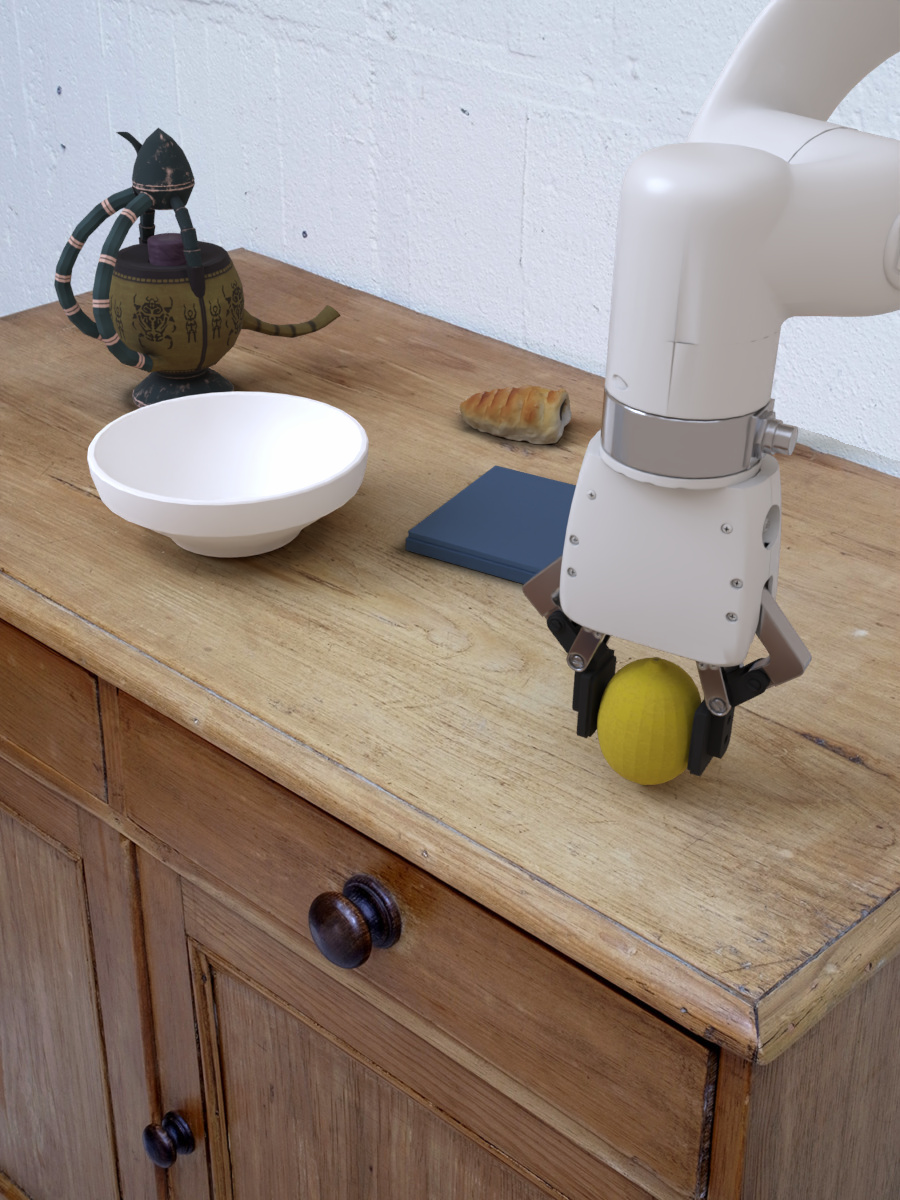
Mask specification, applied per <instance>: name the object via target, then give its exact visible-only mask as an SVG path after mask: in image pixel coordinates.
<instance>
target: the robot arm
mask: <svg viewBox="0 0 900 1200" xmlns="http://www.w3.org/2000/svg"><path fill="white" fill-rule="evenodd" d="M899 52H900V0H770V1H768V3H766V5H765V6H764V7H763V8H762V9H761V11H759V13H758V15H757V16H756V17H755V18H754V20H753V21H752V22H751V23H750V25H749V26H748V27H747V29H746V30H745V31H744V34H743V35H742V36H741V38H740V39H739V41H738V43H736V45H735V48H734V49H733V51H732V53H731V54H730V56H729V57H728V59H727V61H726V63H725V64H724V66H723V68H722V70H721V72H720V74H719V75H718V77H717V78H716V80H715V82H714V84H713V86H711V87H712V88H711V89H710V91H709V93H708V94H707V96H706V98H705V100H704V102H703V103H702V105H701V107H700V109H699V111H698V113H697V115H696V117H695V119H694V121H693V123H692V125H691V127H690V130H689V132H688V135H687V136H686V138H685V141H684V142H678V143H669V144H664V145H660V146H656V147H652V148H650V149H646V150H645V151H642V152H641V153H640V154H638V155H637V156H636V157H635V158H633V160H632V161H631V162H630V163H629V165H628V166H627V167H626V170H625V172H624V174H623V177H622V181H621V183H620V184H621V185H620V191H619V200H618V208H617V219H616V220H617V222H616V232H615V233H616V234H615V246H614V259H613V270H612V271H613V274H612V283H611V284H612V285H611V298H610V311H609V323H608V336H607V337H608V338H607V350H606V363H605V364H606V365H605V376H604V377H605V378H604V386H603V387H604V388H603V397H602V398H603V400H602V411H601V412H602V413H601V426H600V429H599V430H598V431H597V432H596V433H595V434H594V436H592V437H591V438H590V440H589V442H588V444H587V447H586V450H585V453H584V456H583V459H582V463H581V465H580V469H579V473H578V476H577V481H576V484H575V485H576V488H575V492H574V496H573V500H572V504H571V509H570V514H569V519H568V524H567V530H566V536H565V543H564V549H563V554H561V555H560V556H559V557H557V558H556V559H555V560H553V561H552V562H551V563H549V564H548V565H547V566H545V567H544V568H543V569H541V570H540V571H539V572H537V573H536V574H535V575H534V576H533V577H532V578H530V579H529V580H528V581H527V582H526V583H525V584H522V589H521V590H522V593H523V596H525V598H526V599H527V601H529V603H530V604H531V605H532V607H533V608H534V609H535V611H537V613H538V614H539V615H540V616H541V617H542V618H545V620H546V626H547V628H548V630H549V631H550V633H551V634H552V635H553V636H554V638H555V639H556V640H557V642H558V643H559V644H560V646H561V648H562V649H563V650H564V651H565V653H566V654H567V655H566V659H565V661H566V664H567V666H568V667H569V668H570V669H571V670H572V671H574V677H573V688H572V689H573V691H572V701H571V702H572V703H571V709H572V711H574V712H576V713H577V719H576V736H578V737H580V738H583V739H587V738H588V737H589V738H591V737H593V735H594V734H595V733H596V732H597V718H598V712H599V707H600V703H601V699H602V696H603V693H604V691H605V689H606V687H607V685H608V683H609V682H610V680H611V679H612V677H613V676H614V674H615V673H616V669H617V656H616V655H615V652H616V651H615V649H612V648H610V647H609V646H608V645H609V643H610V640H611V638H612V637H614V638H618V639H620V640H624V641H626V642H631V643H634V644H637V645H640V646H643V647H647V648H651V649H655V650H657V651H659V652H660V651H661V652H664V653H667V654H671V655H673V656H677V657H680V658H685V659H687V660H691V661H694V662H695V664H696V668H697V673H698V676H699V681H700V686H701V690H702V694H703V700H701V704H700V705H699V707H698V708H697V709H696V711H695V714H694V719H693V726H692V734H691V742H690V749H689V757H688V765H687V768H686V770H687V771H689V774H690V775H693V776H697V777H701V776H702V775H703V773H704V772H705V771H706V769H707V767H708V765H710V763H711V761H712V759H713V758H717V759H720V760H721V759H722V758H723V757H724V756H725V754H726V752H727V751H728V748H729V745H730V741H731V736H732V730H733V724H734V717H735V712H736V711H735V710H736V707H737V706H740V705H741V704H743V703H746V702H748V701H750V700H752V699H754V698H756V697H759V696H760V695H763V693H765V692H766V691H767V690H768V689H771V688H774V687H778V686H780V685H783V684H785V683H787V682H789V681H792V680H794V679H796V678H800V677H801V676H802V675H804V673H805V671H806V670H807V669H808V667H809V665H810V664H811V662H812V658H813V655H812V654H811V651H810V650H809V649H808V647H807V645H806V644H805V642H803V640H802V638H801V637H800V635H799V634H798V632H797V631H796V629H795V628H794V626H793V625H792V623H791V622H790V621H789V619H788V617H787V615H786V614H785V613H784V612H783V610H782V609H781V607H780V606H779V604H778V603H777V595H778V586H779V574H780V573H779V572H780V559H781V544H782V542H781V541H782V517H783V515H782V514H783V513H782V511H783V505H782V504H783V503H782V501H783V500H782V481H781V480H782V479H781V471H780V463H779V460H778V459H777V458H776V457H775V456H773V455H776V454H781V455H785V456H791V455H792V454H793V452H794V450H795V447H796V445H797V442H798V437H799V427H798V426H796V425H791V424H786V423H784V422H783V420H782V419H777V418H776V411H774V408H775V401H776V398H772V392H773V385H774V380H775V379H774V377H775V371H776V365H777V356H778V352H779V351H778V350H779V344H780V336H781V330H782V326H783V324H784V323H785V322H786V321H787V320H788V319H791V318H793V317H794V318H795V317H834V318H835V317H836V318H837V317H838V318H856V317H859V318H862V317H873V316H875V317H876V316H880V315H885V314H889V313H893V312H898V311H900V140H899V139H895V138H892V137H889V136H883V135H879V134H874V133H870V132H868V131H867V132H866V131H862V130H858V129H857V128H855V127H854V128H853V127H851V126H850V127H849V126H846V125H842V124H837V123H833V122H829V121H828V120H829V119H830V118H831V116H832V114H833V113H834V112H835V110H836V109H837V107H838V106H839V105H840V104H841V102H843V100H844V99H845V98H846V97H847V95H849V93H850V92H851V91H853V89H854V88H855V87H856V86H857V85H858V84H859V83H860V82H861V81H862V80H864V79H865V78H866V77H867V76H868V75H869V74H870V73H872V72H873V71H874V70H876V68H879V66H881V65H882V64H883V63H884V62H886V61H887V60H889V59H890V58H892V57H893V56H895V55H896V54H898V53H899ZM755 636H757V638H758V639H759V641H760V642H761V644H762V645H763V647H764V648H765V650H766V652H768V656H766V657H759V658H757V659H754V660H752V661H751V662H749V663H746V664H744V662H745V660H746V659H747V657H748V653H749V651H750V647H751V645H752V644H753V641H754V638H755Z"/></svg>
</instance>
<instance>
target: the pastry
mask: <svg viewBox="0 0 900 1200" xmlns="http://www.w3.org/2000/svg"><path fill="white" fill-rule="evenodd" d="M459 410H460V413H461V417H462V418H463V420H464V421H465V423H466V424H467V425H468V426H470V427H471V428H472V429H473V430H478V431H479V432H481V433H488V434H490V435H492V436H494V437H500V438H505V439H507V440H511V441H517V442H522V441H526V442H528V443H529V444H533V445H534V444H535V445H549V444H557V443H558V441H559V440H560V439H561V437H562V436H563V435H564V431H565V427H566V426H567V425H568V424H569V423H570V422H571V420H572V416H573V415H572V408H571V400H570V397H569V393H568V391H567V390H566V389H565V388H563V387H561V388H559V389H558V390H553V389H549V388H546V387H543V386H539V385H538V386H537V385H531V384H523V385H521V386H519V387H514V386H507V387H503V388H493V389H492V390H491V391H481V392H477V393H474V394H472V395H471V396H470V397H467V399H466V400H464V401H462V402H461V403H460V404H459Z"/></svg>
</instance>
